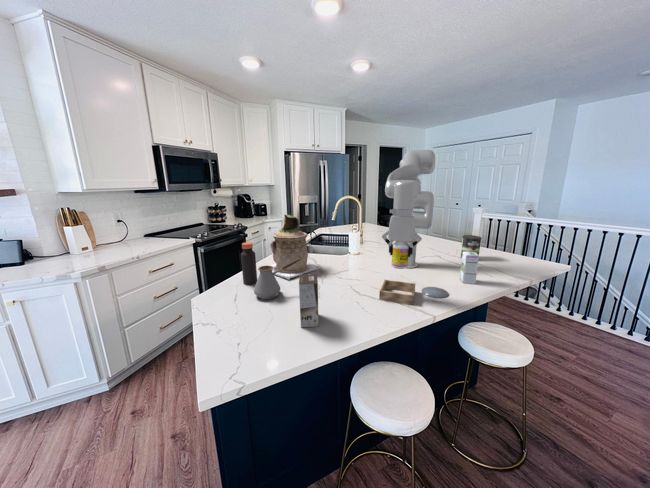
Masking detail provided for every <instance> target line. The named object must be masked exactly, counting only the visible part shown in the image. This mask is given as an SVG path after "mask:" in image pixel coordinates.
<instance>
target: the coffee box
mask: <svg viewBox="0 0 650 488" xmlns="http://www.w3.org/2000/svg"><path fill="white" fill-rule="evenodd" d="M298 286H299V287H298V288H299V291H298V292H299V294H298V295H299V313H300V316H299V317H300V328H310V327H311V328H312V327H313V328H314V327H316V328H317V327H318V326H319V283H318V276H317V274H316V273H312V274H311V273H310V274H309V273H305V274H302V275H299V278H298Z"/></svg>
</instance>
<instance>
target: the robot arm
mask: <svg viewBox="0 0 650 488" xmlns="http://www.w3.org/2000/svg"><path fill="white" fill-rule="evenodd" d="M435 168H436V155H435V152H434V151H433V150H431V149H416V150H409V151H407V152H406V153H405V154H404V155H403V157H402V159H401V160H400V161H399V167H398V168H396V169H394V170H393V171H392V172H390V173H389V175H388V176H387V179H386V182H385V185H384V186H385V188H384V192H385V193H384V195H385V196H386V197H387V198H389V199H393V208H392V209H389V214H392V215H391V216H390V219H389V226H388V230H387V231H386V232H384V233H383V234H382V235H381V238H382V239H383V240H384V242H385V243H386V244H387V245H388V253H389V256H392V248H393V244H394V242H396V241H402V242H407V244H409V252H408V267H407V268H406V269H414V268H417V267H418V266H419V263H418V262H417V261H416V257H417V245H418V244H419V243H420V242H421V241H423V240H422V239H423V238H422V237H421V236H420V235H419V234H418V233H417V232H416V229H419V230H420V229H423V230H424V229H425V230H428V229H430V228H431V227H432V225H433V217H434V206H435V205H434V204H435V195H434V194H433V192H432V191H426V190H425V191H422V186H421V180H420V179H419V177H418V176H419V175H431V174H432V173H433V172H434V170H435ZM415 209H416V210H418V211H416V210H415ZM419 210H421V211H419ZM422 210H424V211H422Z"/></svg>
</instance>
